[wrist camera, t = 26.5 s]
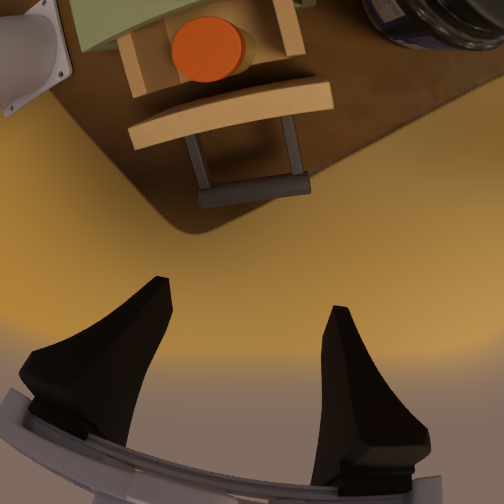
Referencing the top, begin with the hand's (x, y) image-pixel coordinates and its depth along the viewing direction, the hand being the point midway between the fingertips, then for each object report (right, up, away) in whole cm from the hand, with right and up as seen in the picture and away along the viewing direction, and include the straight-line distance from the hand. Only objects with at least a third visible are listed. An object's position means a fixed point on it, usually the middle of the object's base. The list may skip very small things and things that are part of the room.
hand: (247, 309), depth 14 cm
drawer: (-1, +14, +2) cm, 14 cm away
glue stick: (-1, +13, +1) cm, 14 cm away
